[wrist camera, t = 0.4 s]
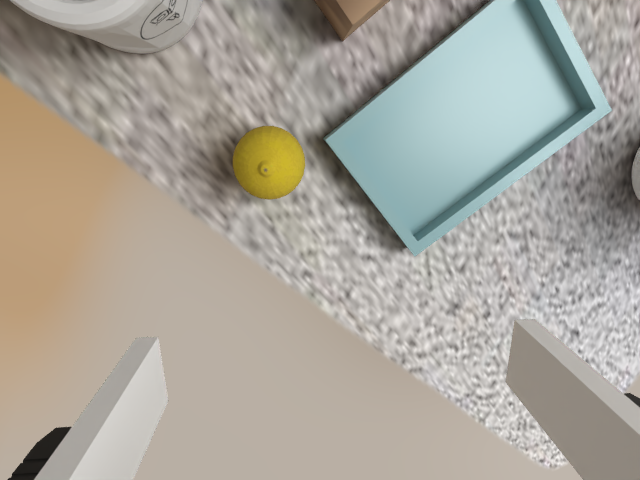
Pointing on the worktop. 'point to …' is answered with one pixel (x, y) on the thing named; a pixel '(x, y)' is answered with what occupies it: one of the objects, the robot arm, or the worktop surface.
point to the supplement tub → (636, 174)
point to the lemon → (268, 162)
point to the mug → (119, 20)
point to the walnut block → (348, 13)
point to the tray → (470, 118)
